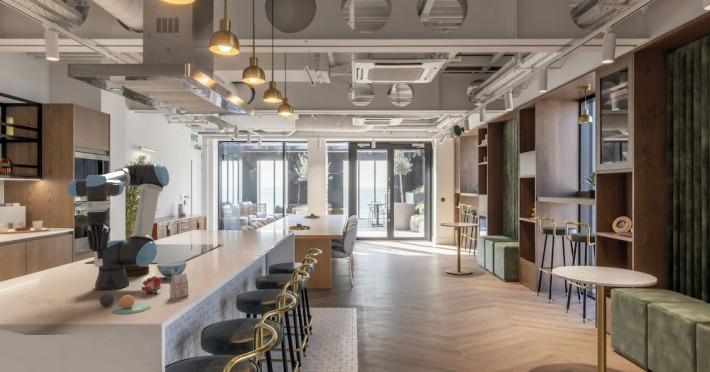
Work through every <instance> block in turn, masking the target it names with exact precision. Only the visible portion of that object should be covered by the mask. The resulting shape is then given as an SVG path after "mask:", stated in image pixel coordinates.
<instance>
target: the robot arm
mask: <svg viewBox="0 0 710 372" xmlns="http://www.w3.org/2000/svg"><path fill="white" fill-rule="evenodd" d="M169 182H170V174H169V171H168V169H167V166H165V165H163V164H157V163H154V164H153V163H151V164H150V163H149V164H145V163H144V164H137V163H136V164H131V165H127V166H124V167H121V168H117V169H115V170H114V171H113V172H109V173H105V174H89V175H87V176H86V178H84V179H71V180H70V181H68V182H67V184H66V185H67V186H66V191H67V194H68V195H69V196H71V197H75V198H81V197H86V211H87V213H86V215H87V217H86V219H87V221H89V223H88V226H86V227H85V228H84V230H85V232H86V236H87V241H88V247H89V249H90V250H91V251H93V258H94V259H93V262H94V268H95V267H96V268H98V274H97V277H96V281H95V283H94V288H95V289H96V290H99V291H112V290H118V289H122V288H127V287H128V286H129V285H130V278H129V277H128V276H127V274H126V271H125V266H143V265H149V266H150V265H151V264H152V263H153V262H154V261H155V259H156V257H157V252H158V249H157V248H158V247H157V244H156V242H154V241H155V239H154V238H153V237H152V234H153V228H154V223H155V219H156V213H157V207H158V202H159V197H160V196H159V195H160V193H162V192H163V190H164V187H167V186H168V185H169ZM124 187H138V188H139V189H140V196H139V201H138V206H137V211H136V217H135V221H134V226H133V231H132V235H129V237H128V240H127V241H128V242H127V241H126V240H125V239H124V238H119V239H112V240H109V235H110V231H111V227H108V226H107V224H106V223H107V222H106V221H107V220H108V197H116V196H120V195H121V194H122V193H123V192H124V190H125V189H124Z"/></svg>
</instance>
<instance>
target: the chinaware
mask: <svg viewBox="0 0 710 372" xmlns="http://www.w3.org/2000/svg"><path fill="white" fill-rule="evenodd" d="M187 263H188V262H187V261H185V260H169V261H162V262H159V263H157V264H156V266H157V269H158V270H157V271H158V272H159V273H160V274H161V275H162V276H164V277H165V279H168V280H171V279H172V276H175V275H180V274H184V273H183V272H184V271H185V270H186V267H187Z"/></svg>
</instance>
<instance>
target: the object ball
mask: <svg viewBox="0 0 710 372" xmlns="http://www.w3.org/2000/svg"><path fill="white" fill-rule="evenodd" d="M133 304H135V297H133V296H132V295H130V294H125V295H123V296H121V298H120V299H119V307H122V308H125V309H128V308H130V307H132V306H133Z"/></svg>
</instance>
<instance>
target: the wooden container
mask: <svg viewBox="0 0 710 372" xmlns="http://www.w3.org/2000/svg"><path fill="white" fill-rule="evenodd" d="M126 242H128V240H127V241H126ZM125 271H126V274H127V276H128V278H133V277H134V278H135V277H141V276H147V275H148V274H150V264H149V265H143V266H125Z"/></svg>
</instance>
